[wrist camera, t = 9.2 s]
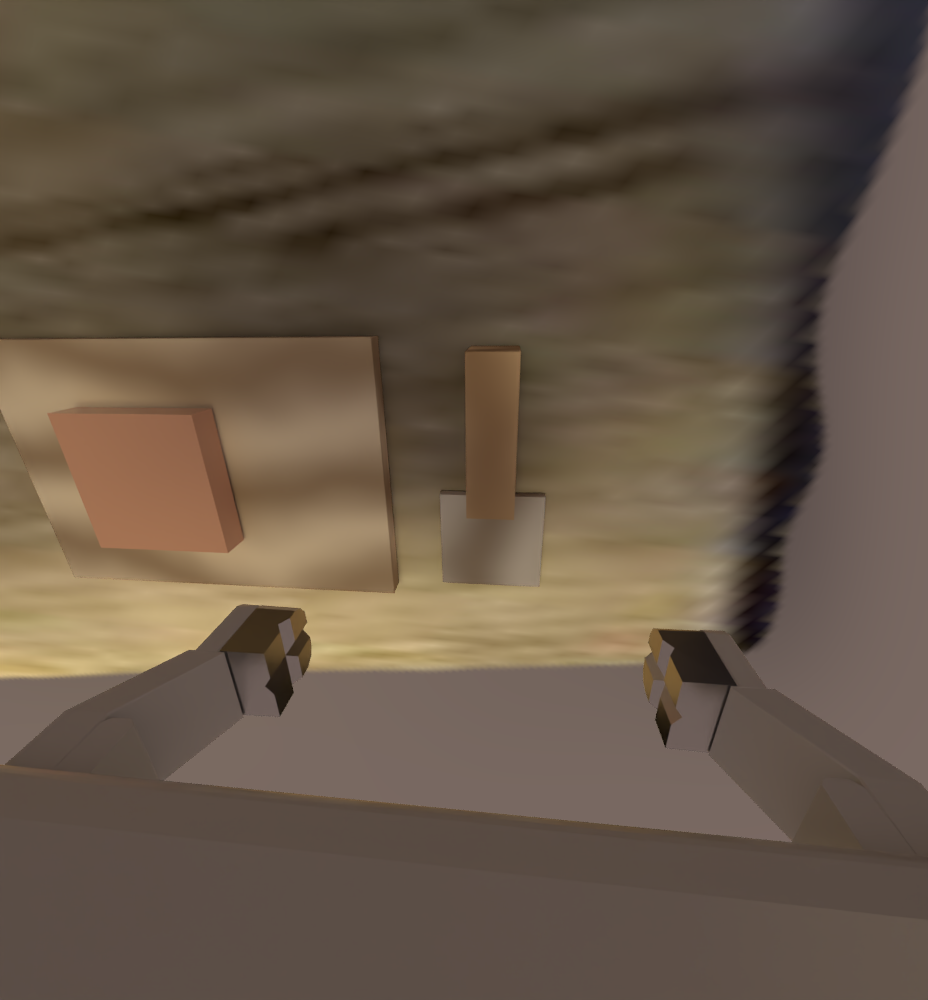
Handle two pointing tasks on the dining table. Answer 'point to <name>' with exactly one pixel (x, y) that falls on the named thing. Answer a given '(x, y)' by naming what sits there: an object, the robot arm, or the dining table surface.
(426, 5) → the dining table surface
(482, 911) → the robot arm
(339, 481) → the board
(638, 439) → the dining table surface
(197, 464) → the tile
